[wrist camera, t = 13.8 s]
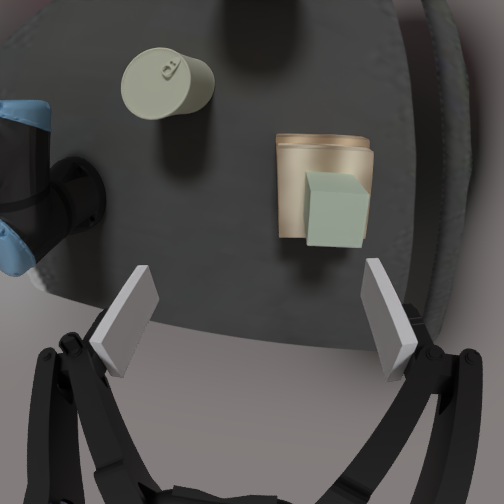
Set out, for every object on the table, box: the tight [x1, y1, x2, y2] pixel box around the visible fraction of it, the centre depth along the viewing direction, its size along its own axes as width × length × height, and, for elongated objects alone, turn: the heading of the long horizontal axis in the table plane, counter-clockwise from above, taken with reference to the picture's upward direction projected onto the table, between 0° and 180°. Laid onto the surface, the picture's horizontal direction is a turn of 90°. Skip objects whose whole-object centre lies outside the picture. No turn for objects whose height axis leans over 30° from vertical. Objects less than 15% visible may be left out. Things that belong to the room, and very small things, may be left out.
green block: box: [303, 171, 370, 248], centre depth 32 cm, size 6×6×8 cm
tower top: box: [277, 143, 374, 239], centre depth 37 cm, size 12×12×4 cm
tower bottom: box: [276, 134, 370, 224], centre depth 41 cm, size 13×13×4 cm
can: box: [121, 48, 215, 120], centre depth 32 cm, size 9×9×12 cm
